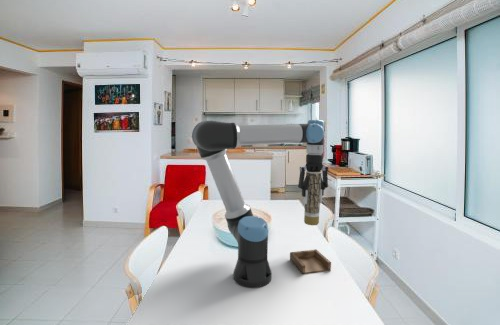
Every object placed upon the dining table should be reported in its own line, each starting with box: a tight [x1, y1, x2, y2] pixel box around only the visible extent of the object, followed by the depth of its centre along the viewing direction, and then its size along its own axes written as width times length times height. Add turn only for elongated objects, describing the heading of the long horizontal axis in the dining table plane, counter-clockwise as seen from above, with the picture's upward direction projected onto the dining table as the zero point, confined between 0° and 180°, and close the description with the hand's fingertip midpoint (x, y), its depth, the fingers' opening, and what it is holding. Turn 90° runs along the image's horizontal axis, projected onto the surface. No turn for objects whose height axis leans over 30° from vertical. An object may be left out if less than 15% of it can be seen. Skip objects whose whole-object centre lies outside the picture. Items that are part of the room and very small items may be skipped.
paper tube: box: [303, 170, 322, 226], centre depth 132 cm, size 7×7×25 cm
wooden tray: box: [289, 249, 332, 275], centre depth 124 cm, size 13×13×4 cm
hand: (312, 202), depth 133 cm, fingers closed on paper tube, 7 cm apart
